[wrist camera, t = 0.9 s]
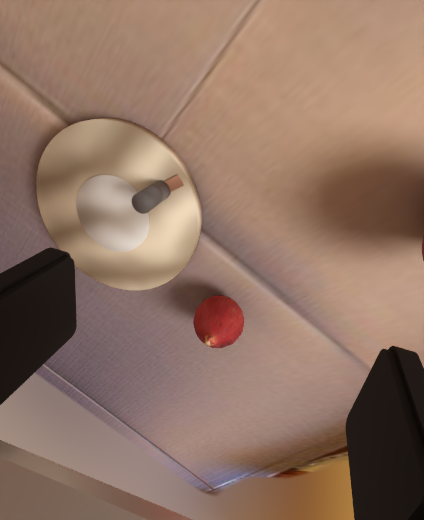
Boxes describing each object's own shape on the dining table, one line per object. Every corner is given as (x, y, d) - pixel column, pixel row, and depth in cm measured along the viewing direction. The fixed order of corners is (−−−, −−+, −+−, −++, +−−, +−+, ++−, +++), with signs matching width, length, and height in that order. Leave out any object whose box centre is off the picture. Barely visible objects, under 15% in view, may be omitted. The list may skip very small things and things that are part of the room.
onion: (257, 313, 42) (246, 357, 35) (220, 328, 44) (203, 372, 37) (232, 276, 40) (215, 315, 33) (195, 293, 43) (172, 333, 36)
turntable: (16, 168, 41) (-32, 180, 35) (141, 79, 32) (105, 77, 27) (106, 300, 47) (77, 329, 41) (232, 254, 38) (218, 283, 33)
